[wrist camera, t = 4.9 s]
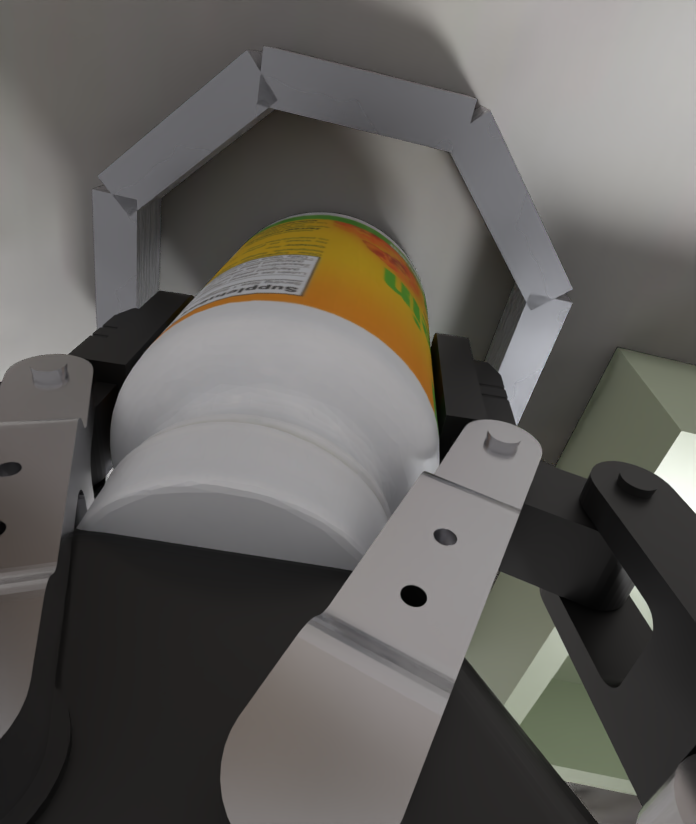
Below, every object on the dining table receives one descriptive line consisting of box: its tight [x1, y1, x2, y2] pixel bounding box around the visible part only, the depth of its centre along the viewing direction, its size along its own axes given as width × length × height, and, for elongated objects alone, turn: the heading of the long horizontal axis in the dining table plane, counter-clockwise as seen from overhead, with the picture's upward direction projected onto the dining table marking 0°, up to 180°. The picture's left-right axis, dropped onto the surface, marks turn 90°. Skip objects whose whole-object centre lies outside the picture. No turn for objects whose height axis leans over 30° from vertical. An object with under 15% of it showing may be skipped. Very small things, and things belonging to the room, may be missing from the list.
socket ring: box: [92, 46, 573, 425], centre depth 14 cm, size 11×11×2 cm
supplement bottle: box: [77, 212, 439, 571], centre depth 11 cm, size 5×5×10 cm
